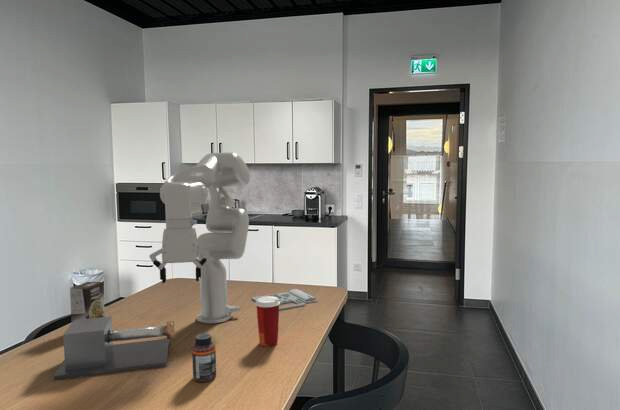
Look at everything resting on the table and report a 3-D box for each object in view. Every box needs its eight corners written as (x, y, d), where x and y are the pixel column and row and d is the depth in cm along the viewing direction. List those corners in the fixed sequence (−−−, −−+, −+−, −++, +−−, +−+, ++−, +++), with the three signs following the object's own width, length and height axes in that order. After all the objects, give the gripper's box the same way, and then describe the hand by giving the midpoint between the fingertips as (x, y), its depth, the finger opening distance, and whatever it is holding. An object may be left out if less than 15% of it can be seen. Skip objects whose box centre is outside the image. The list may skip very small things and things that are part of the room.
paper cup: (284, 339, 139) (283, 296, 138) (275, 349, 132) (274, 303, 131) (262, 337, 142) (261, 294, 141) (251, 346, 135) (250, 301, 134)
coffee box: (88, 336, 145) (85, 288, 144) (71, 335, 146) (68, 287, 145) (106, 326, 154) (104, 281, 152) (90, 325, 155) (87, 280, 154)
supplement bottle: (195, 373, 117) (193, 332, 116) (217, 372, 118) (216, 331, 117) (191, 383, 111) (189, 340, 110) (214, 382, 112) (213, 339, 111)
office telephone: (300, 287, 196) (323, 297, 178) (300, 292, 196) (323, 304, 178) (251, 294, 184) (270, 306, 167) (251, 300, 184) (270, 313, 167)
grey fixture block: (169, 342, 139) (168, 308, 138) (166, 366, 121) (165, 327, 121) (71, 353, 131) (69, 317, 131) (53, 380, 114) (51, 339, 113)
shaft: (174, 335, 133) (174, 318, 132) (174, 341, 128) (173, 324, 127) (95, 343, 127) (94, 326, 127) (91, 350, 122) (90, 332, 122)
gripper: (209, 222, 135) (211, 276, 136) (150, 223, 132) (152, 279, 133) (208, 224, 128) (210, 282, 129) (146, 226, 125) (148, 285, 126)
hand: (181, 281), depth 131 cm, fingers open, 9 cm apart
